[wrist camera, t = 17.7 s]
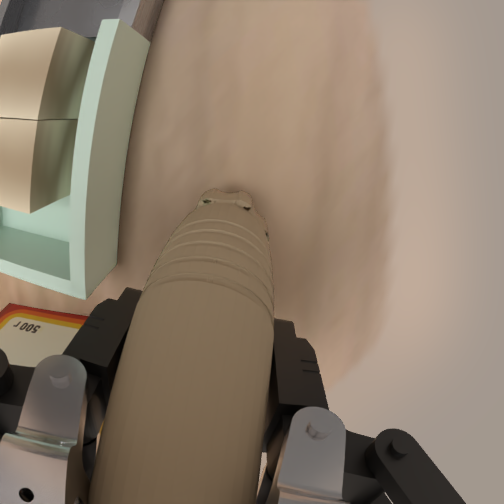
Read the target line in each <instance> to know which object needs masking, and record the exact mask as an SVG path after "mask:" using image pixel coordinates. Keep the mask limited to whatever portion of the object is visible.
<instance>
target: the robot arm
mask: <svg viewBox="0 0 504 504" xmlns="http://www.w3.org/2000/svg"><path fill="white" fill-rule="evenodd" d="M141 294H142V291H141V290H137V289H132V288H128V287H127V288H126V289H125V290H124V292H123V293H122V294H121V296H120V297H119V299H118V300H113V299H107V300H105V301H103V302H102V303H100V304H98V305H97V306H96V307H95V308H94V310H93V311H92V312H91V314H90V316H89V317H88V318H87V319H86V321H85V322H84V325H82V326H81V328H80V329H79V330H78V332H77V333H76V335H75V336H74V337H73V339H72V340H71V342H70V343H69V345H68V346H67V347H66V349H65V350H64V352H63V353H62V355H52V356H49V357H47V358H44V359H43V360H41V361H40V362H39V363H38V365H37V366H36V367H27V366H19V365H12V364H9V361H8V358H7V356H6V354H5V352H4V351H3V350H2V349H0V504H88V497H89V490H90V484H91V479H92V473H93V468H94V463H95V458H96V453H97V449H98V444H99V440H100V433H99V431H100V428H101V425H102V423H103V421H104V418H105V414H106V410H107V406H108V402H109V398H110V394H111V390H112V386H113V382H114V379H115V375H116V371H117V368H118V364H119V361H120V357H121V354H122V350H123V347H124V344H125V340H126V337H127V334H128V331H129V327H130V324H131V321H132V318H133V315H134V312H135V309H136V306H137V303H138V302H139V299H140V296H141ZM319 372H320V370H319V366H318V364H317V358H316V354H315V350H314V349H313V348H312V346H311V345H310V344H309V342H308V341H307V340H306V339H303V338H296V334H295V328H294V324H293V322H292V321H287V320H281V319H275V318H274V341H273V352H272V362H271V373H270V383H269V393H268V402H267V412H266V421H265V430H264V439H263V447H262V452H266V453H267V463H266V465H265V467H264V469H263V471H262V474H261V478H260V481H259V484H258V491H257V499H256V504H392V503H391V502H390V500H389V499H388V498H387V496H386V495H385V493H384V492H386V493H387V495H388V496H389V498H390V499H391V501H392V502H393V504H466V503H465V502H464V501H463V499H462V498H461V497H460V495H459V494H458V493H457V492H456V490H455V489H454V488H453V487H452V485H451V484H450V483H449V481H448V480H447V479H446V478H445V476H444V475H443V474H442V473H441V471H440V470H439V469H438V468H437V466H436V465H435V464H434V463H433V462H432V460H431V459H430V458H429V457H428V455H427V454H426V453H425V451H424V450H423V449H422V448H421V446H420V445H419V444H418V443H417V441H416V440H415V439H414V438H413V437H412V436H411V435H410V434H408V433H407V432H405V431H402V430H399V429H387V430H384V431H382V432H381V433H380V434H379V435H378V436H377V437H376V438H371V437H367V436H364V435H360V434H356V433H353V432H350V431H348V430H346V429H345V426H344V424H343V422H342V421H341V419H340V418H339V417H338V416H337V415H336V414H334V413H333V412H331V411H329V408H328V404H327V400H326V395H325V391H324V387H323V383H322V378H321V374H319Z"/></svg>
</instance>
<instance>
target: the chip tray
mask: <svg viewBox="0 0 504 504" xmlns="http://www.w3.org/2000/svg"><path fill="white" fill-rule="evenodd" d="M94 42H95V45H94V49H93V52H92V56H91V60H90V64H89V68H88V72H87V77H86V81H85V86H84V91H83V96H82V101H81V107H80V112H79V118H78V125H77V132H76V139H75V147H74V156H73V166H72V177H71V192H70V195H69V196H66V197H64V198H62V199H60V200H58V201H56V202H53V203H51V204H49V205H47V206H45V207H43V208H41V209H39V210H37V211H35V212H33V213H31V214H27V213H24V212H20V211H16V210H13V209H9V208H6V207H2V206H0V272H2V273H5V274H8V275H10V276H13V277H16V278H19V279H21V280H24V281H27V282H30V283H33V284H36V285H39V286H42V287H45V288H48V289H51V290H54V291H57V292H60V293H64V294H67V295H70V296H73V297H77V298H80V299H83V300H86V299H87V298H88V297H89V296H90V295H91V294H92V292H93V291H94V290H95V289H96V288H97V286H98V285H99V284H100V283H101V282H102V281H103V279H104V278H105V277H106V276H107V275H108V274H109V273H110V271H111V270H112V269H113V268H114V267H115V266H116V265H117V248H118V232H119V219H120V207H121V197H122V188H123V180H124V172H125V164H126V157H127V150H128V144H129V138H130V132H131V126H132V121H133V116H134V110H135V105H136V101H137V96H138V91H139V87H140V82H141V78H142V74H143V70H144V66H145V62H146V58H147V54H148V50H149V47H150V43H151V42H149V41H148V40H147V39H146V38H144V37H143V36H142V35H140V34H139V33H138V32H137V31H135V30H134V29H133V28H131V27H130V26H129V25H127V24H126V23H125V22H123V21H122V20H121V19H104V20H102V22H101V25H100V28H99V31H98V35H97V38H96V41H94Z"/></svg>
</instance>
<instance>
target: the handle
mask: <svg viewBox="0 0 504 504" xmlns="http://www.w3.org/2000/svg"><path fill="white" fill-rule="evenodd" d="M268 241H269V235H268V228H267V224H266V221H265V219H264V218H263V217H262V216H260V215H259V214H258V213H257V212H256V210H255V209H254V206H253V204H252V197H251V195H249V194H248V193H246V192H244V191H239V192H236V193H225V192H221V191H219V190H218V189H212V190H209V191H207V192H205V193H204V194H203V195H202V197H201V198H200V200H199V202H198V206H197V208H196V209H195V210H194V211H193V212H191V213H190V214H189V215H188V216H187V217H186V218H185V219H184V220H183V221H182V223H181V224H180V225H179V226H178V227H177V229H176V230H175V232H174V233H173V235H172V236H171V238H170V239H169V241H168V242H167V244H166V246H165V248H164V249H163V251H162V253H161V255H160V256H159V258H158V260H157V262H156V263H155V265H154V268H153V270H152V271H151V274H150V276H149V278H148V280H147V283H146V285H145V287H144V289H143V291H142V294H141V296H140V299H139V302H138V303H137V306H136V309H135V312H134V315H133V318H132V321H131V324H130V327H129V331H128V334H127V337H126V340H125V344H124V347H123V350H122V354H121V357H120V361H119V364H118V368H117V371H116V375H115V379H114V382H113V386H112V390H111V394H110V398H109V402H108V406H107V410H106V414H105V418H104V422H103V427H102V431H101V435H100V440H99V444H98V449H97V453H96V458H95V463H94V468H93V473H92V479H91V484H90V490H89V497H88V504H256V499H257V491H258V483H259V474H260V465H261V456H262V447H263V439H264V430H265V421H266V412H267V402H268V393H269V383H270V373H271V362H272V352H273V341H274V288H273V274H272V263H271V256H270V249H269V244H268Z"/></svg>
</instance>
